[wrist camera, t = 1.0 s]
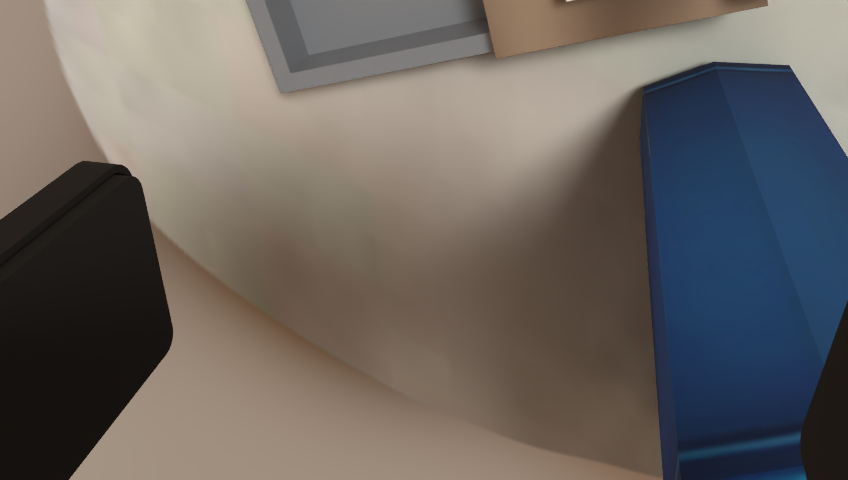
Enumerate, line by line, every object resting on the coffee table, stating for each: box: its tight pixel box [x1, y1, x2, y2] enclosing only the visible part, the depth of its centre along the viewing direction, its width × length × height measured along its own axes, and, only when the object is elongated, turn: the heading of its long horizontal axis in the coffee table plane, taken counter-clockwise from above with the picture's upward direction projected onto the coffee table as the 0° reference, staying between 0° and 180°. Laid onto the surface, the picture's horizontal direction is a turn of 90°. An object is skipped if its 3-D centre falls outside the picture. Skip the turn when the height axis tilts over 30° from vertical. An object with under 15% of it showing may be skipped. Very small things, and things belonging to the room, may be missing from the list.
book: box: [640, 62, 848, 480], centre depth 28 cm, size 22×7×25 cm, turn 14°
